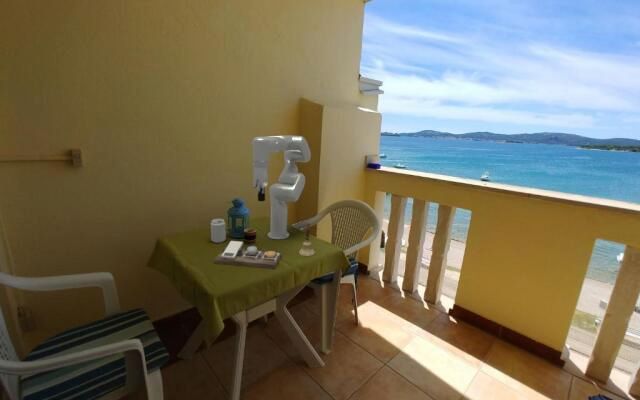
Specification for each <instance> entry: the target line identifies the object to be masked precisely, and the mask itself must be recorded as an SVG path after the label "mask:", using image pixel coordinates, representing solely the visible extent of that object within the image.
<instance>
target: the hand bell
mask: <svg viewBox="0 0 640 400" xmlns="http://www.w3.org/2000/svg"><path fill="white" fill-rule="evenodd" d="M304 232H305V233H304V234H305V241H304V242H302V247H301V248H300V249H299V251H298V253H299V255H300V256H303V257H311V256H314V255H315V254H316V251H315V250H314V249H313V245H312V242H311V241H310V234H311V225H310V223H309V222H307V223H306V226H305V230H304Z"/></svg>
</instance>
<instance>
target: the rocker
mask: <svg viewBox="0 0 640 400" xmlns="http://www.w3.org/2000/svg"><path fill="white" fill-rule="evenodd" d="M243 245H244V242H243V241H237V240H230V242H229V243H228V245H227V246H226V247H227V248H226V250H225V251H224V253H223V254H222V258H228V259H235V257H236V256H237V254H238V250H239V249H240V248H242V246H243Z"/></svg>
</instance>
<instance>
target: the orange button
mask: <svg viewBox="0 0 640 400" xmlns="http://www.w3.org/2000/svg"><path fill="white" fill-rule="evenodd" d="M266 251H267V250H266ZM275 252H276V251H275V250H268V251H267V252H266V258H275V254H276V253H275Z"/></svg>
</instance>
